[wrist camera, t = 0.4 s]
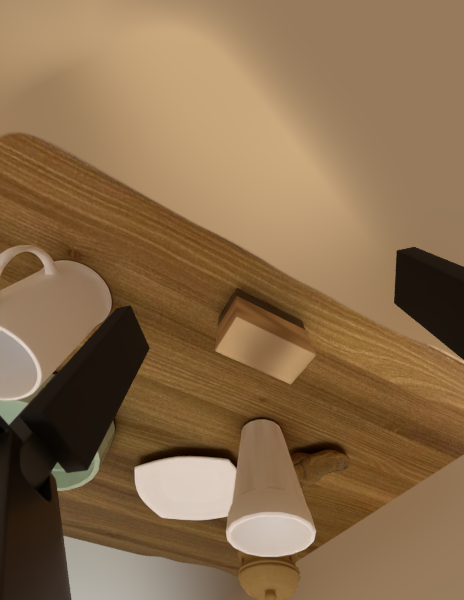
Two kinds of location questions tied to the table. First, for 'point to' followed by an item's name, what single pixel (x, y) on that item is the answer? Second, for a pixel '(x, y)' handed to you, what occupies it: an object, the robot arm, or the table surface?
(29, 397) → the bowl
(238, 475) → the cup
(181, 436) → the table surface
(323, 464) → the ginger root
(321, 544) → the table surface
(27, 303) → the mug
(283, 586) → the pot
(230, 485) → the plate
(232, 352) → the block
